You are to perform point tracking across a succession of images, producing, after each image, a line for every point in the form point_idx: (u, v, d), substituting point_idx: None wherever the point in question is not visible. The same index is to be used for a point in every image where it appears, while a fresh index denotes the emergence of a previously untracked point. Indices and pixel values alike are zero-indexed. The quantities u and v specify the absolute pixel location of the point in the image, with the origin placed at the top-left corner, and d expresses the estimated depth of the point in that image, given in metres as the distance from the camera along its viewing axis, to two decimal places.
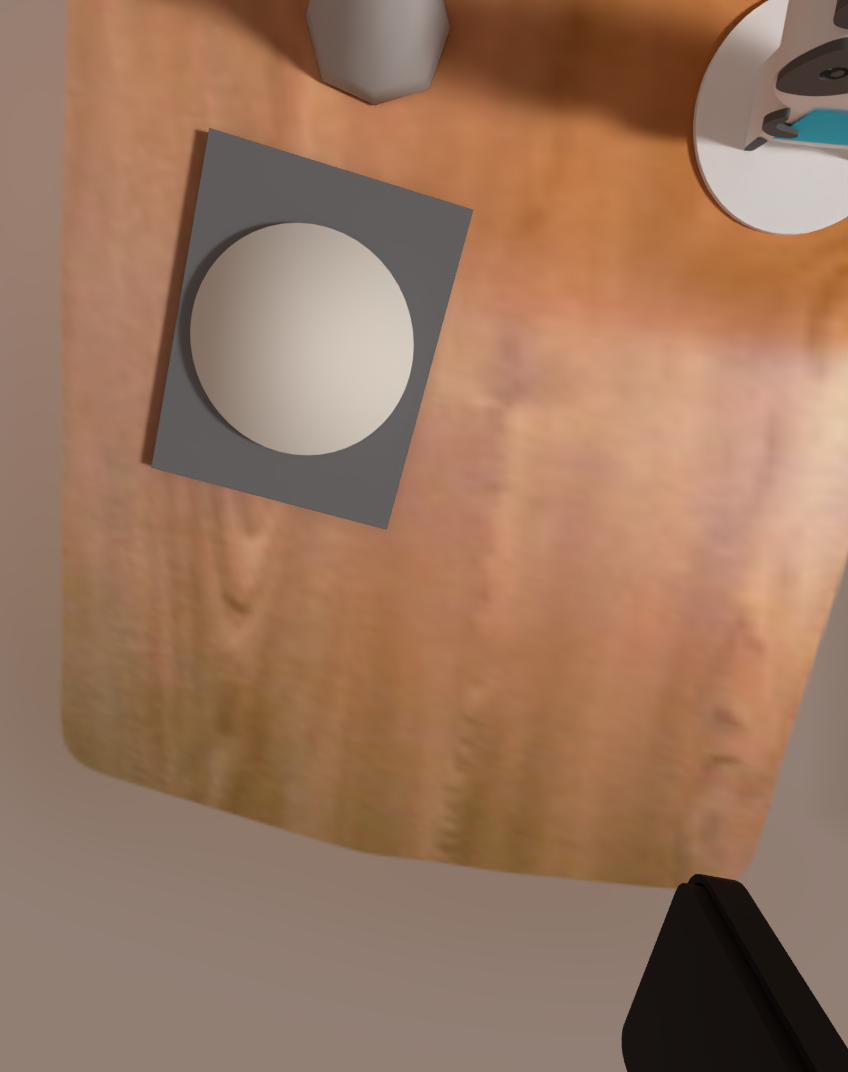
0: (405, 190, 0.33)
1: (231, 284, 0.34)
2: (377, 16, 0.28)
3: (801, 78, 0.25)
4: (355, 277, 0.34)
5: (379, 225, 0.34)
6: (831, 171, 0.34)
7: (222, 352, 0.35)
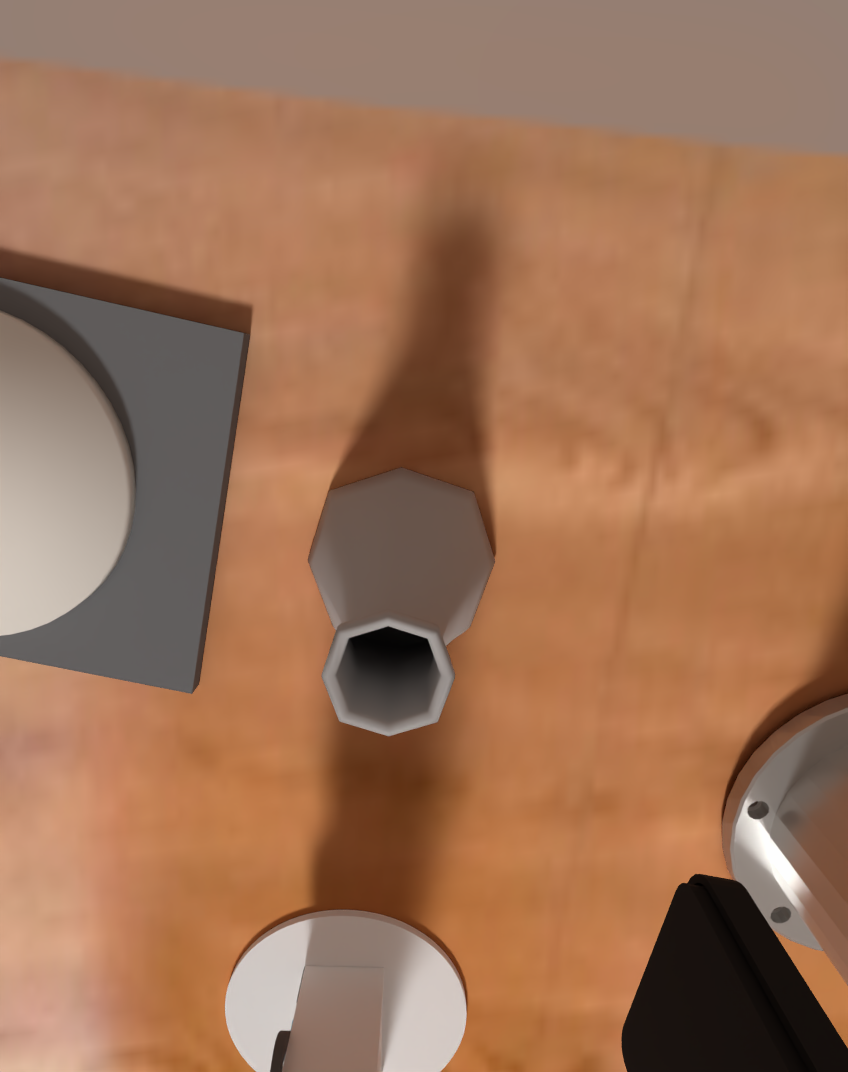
0: (202, 608, 0.25)
1: (18, 367, 0.22)
2: None
3: None
4: (65, 553, 0.23)
5: (153, 576, 0.24)
6: None
7: None
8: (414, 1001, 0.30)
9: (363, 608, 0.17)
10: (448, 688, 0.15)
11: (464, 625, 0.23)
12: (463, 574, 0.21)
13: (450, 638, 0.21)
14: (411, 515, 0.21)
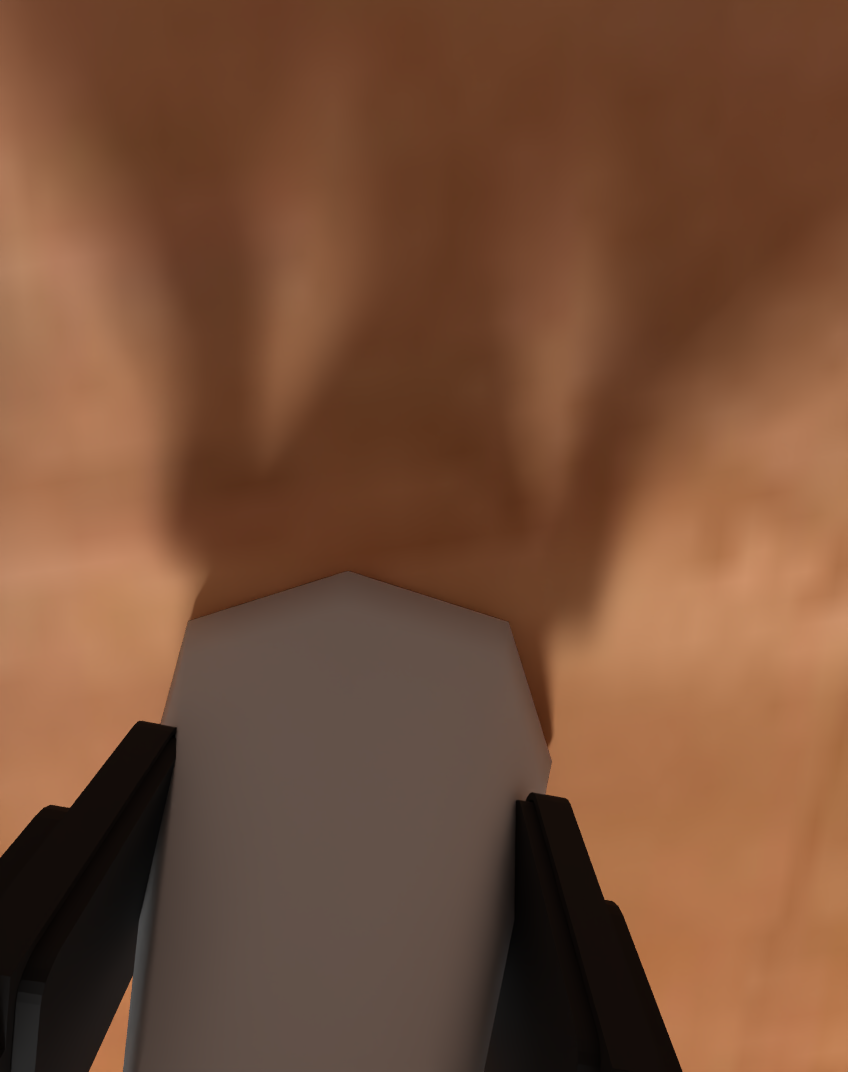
0: None
1: None
2: None
3: None
4: None
5: None
6: None
7: None
8: None
9: None
10: None
11: None
12: (498, 889, 0.08)
13: None
14: (362, 726, 0.08)
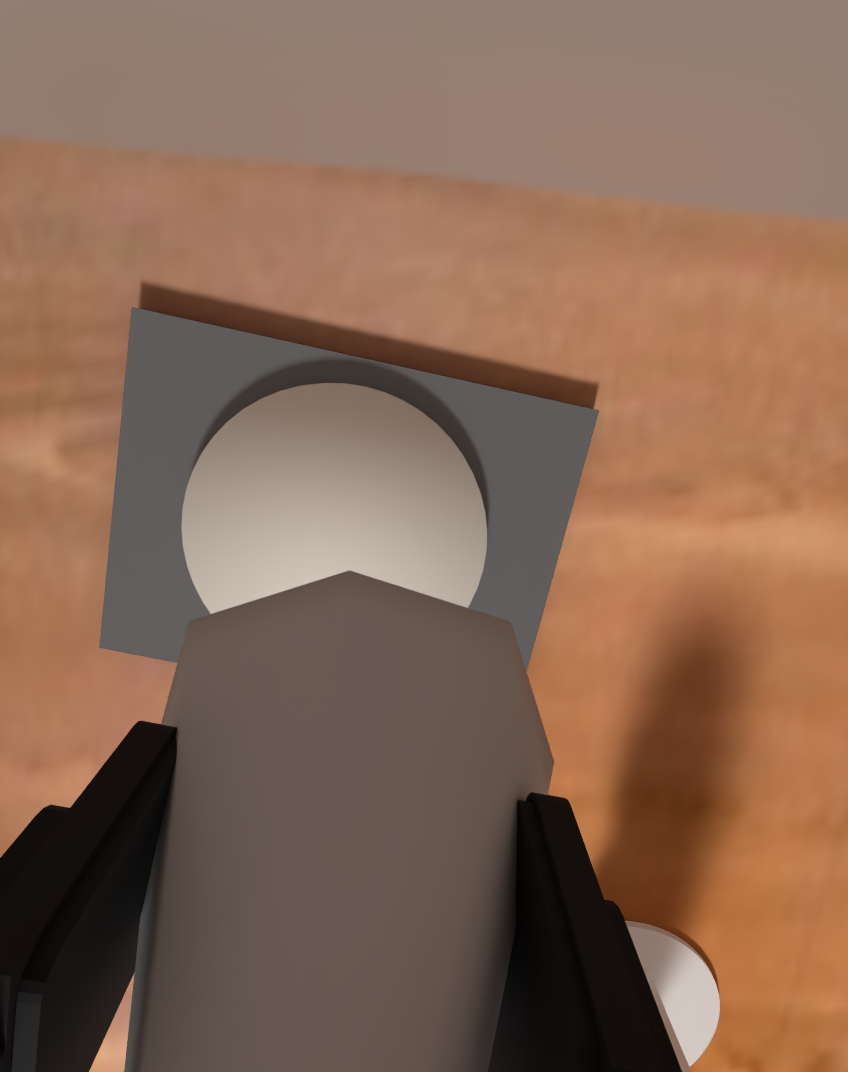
0: (530, 651, 0.27)
1: (405, 443, 0.24)
2: None
3: None
4: None
5: None
6: None
7: (312, 429, 0.24)
8: (672, 1003, 0.33)
9: None
10: None
11: None
12: (501, 891, 0.08)
13: None
14: (364, 726, 0.08)
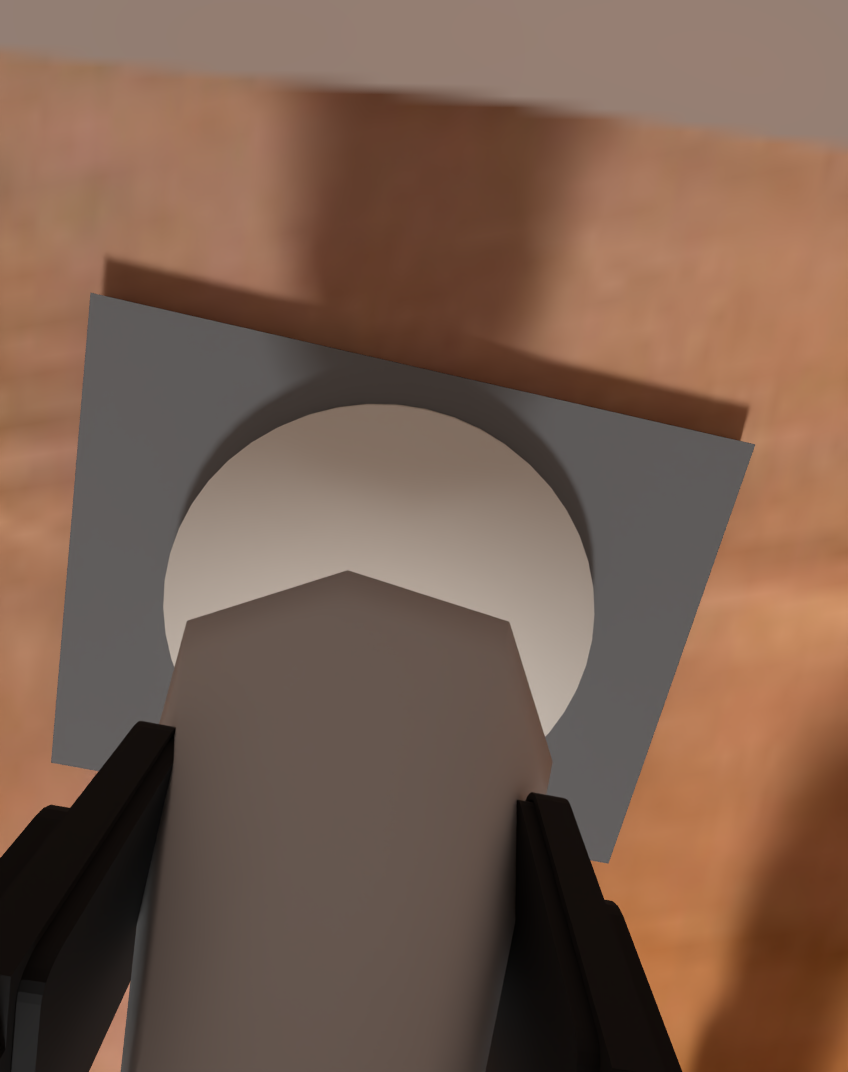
0: (639, 767, 0.20)
1: (484, 491, 0.17)
2: None
3: None
4: None
5: (586, 731, 0.20)
6: None
7: (352, 471, 0.17)
8: None
9: None
10: None
11: None
12: (498, 891, 0.08)
13: None
14: (362, 726, 0.08)
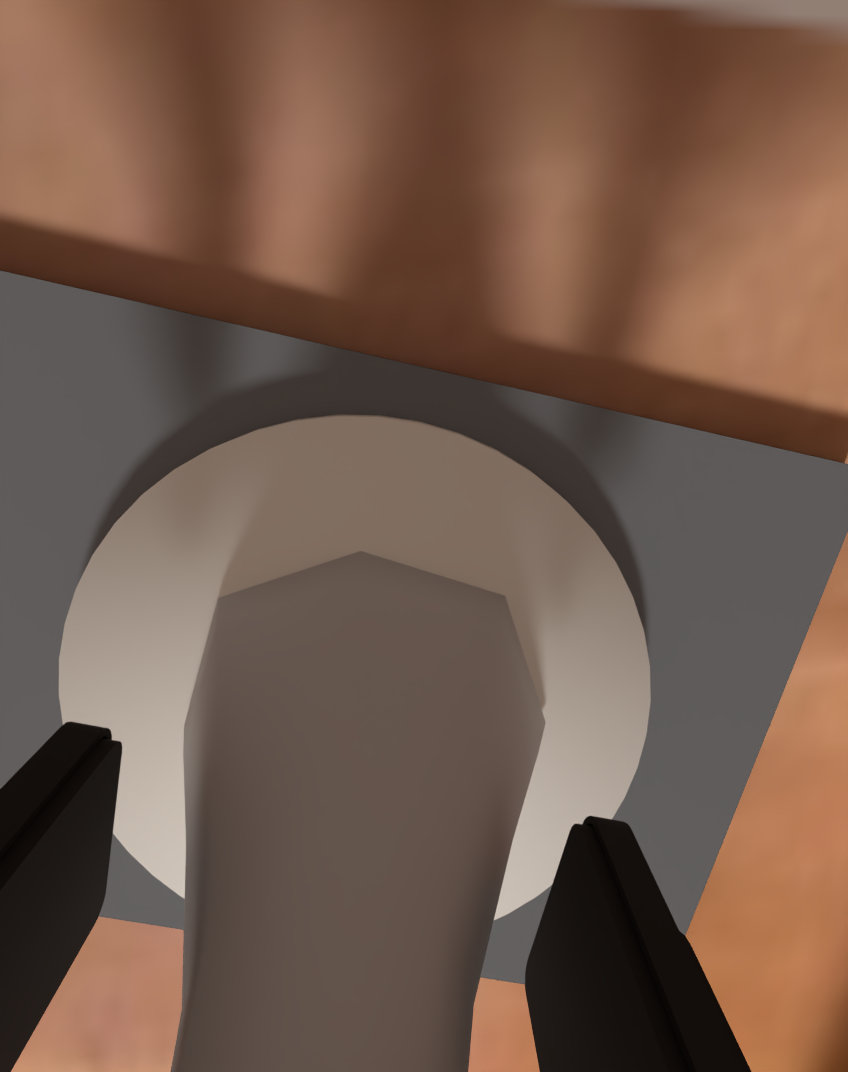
0: (701, 887, 0.15)
1: (501, 537, 0.12)
2: None
3: None
4: (524, 828, 0.14)
5: None
6: None
7: (316, 509, 0.12)
8: None
9: None
10: None
11: None
12: (496, 819, 0.09)
13: None
14: (377, 680, 0.10)
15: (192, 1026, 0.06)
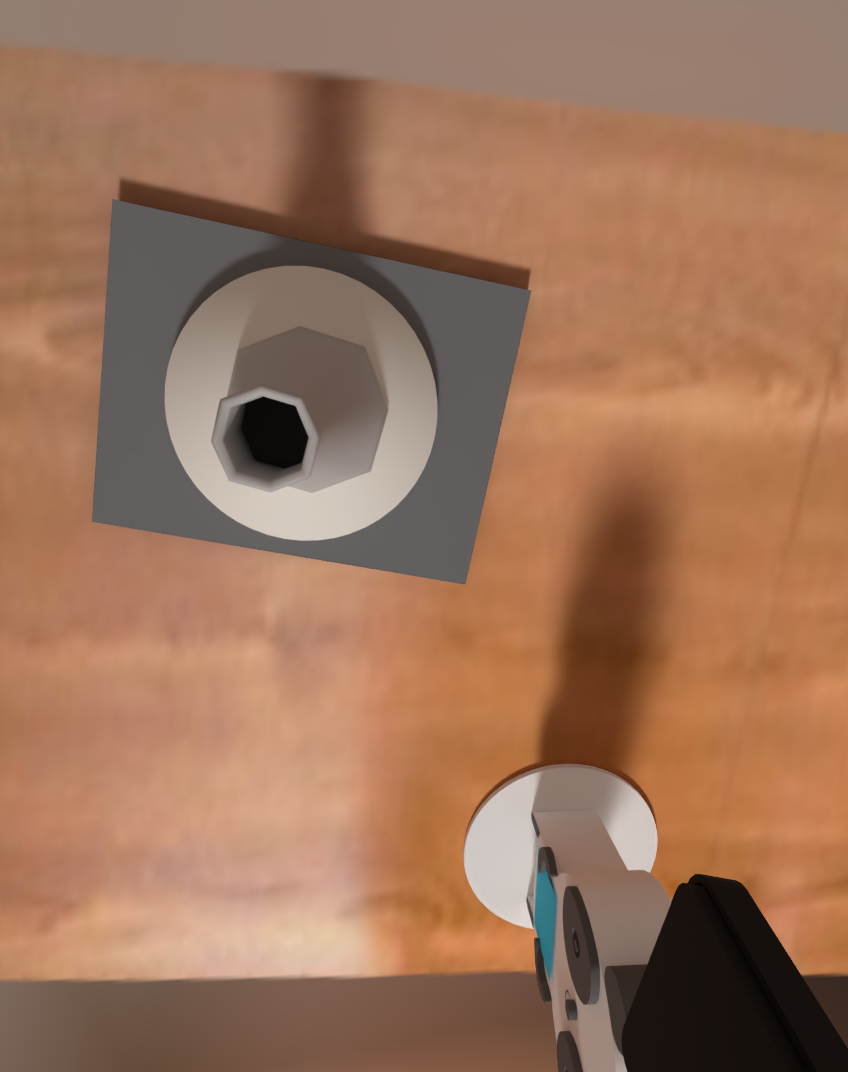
0: (479, 513, 0.31)
1: (362, 320, 0.28)
2: None
3: (573, 913, 0.27)
4: (384, 470, 0.29)
5: (443, 488, 0.31)
6: (517, 882, 0.38)
7: (280, 308, 0.27)
8: (616, 837, 0.37)
9: None
10: (315, 447, 0.19)
11: (360, 460, 0.27)
12: (349, 402, 0.25)
13: (342, 458, 0.25)
14: (303, 354, 0.25)
15: None
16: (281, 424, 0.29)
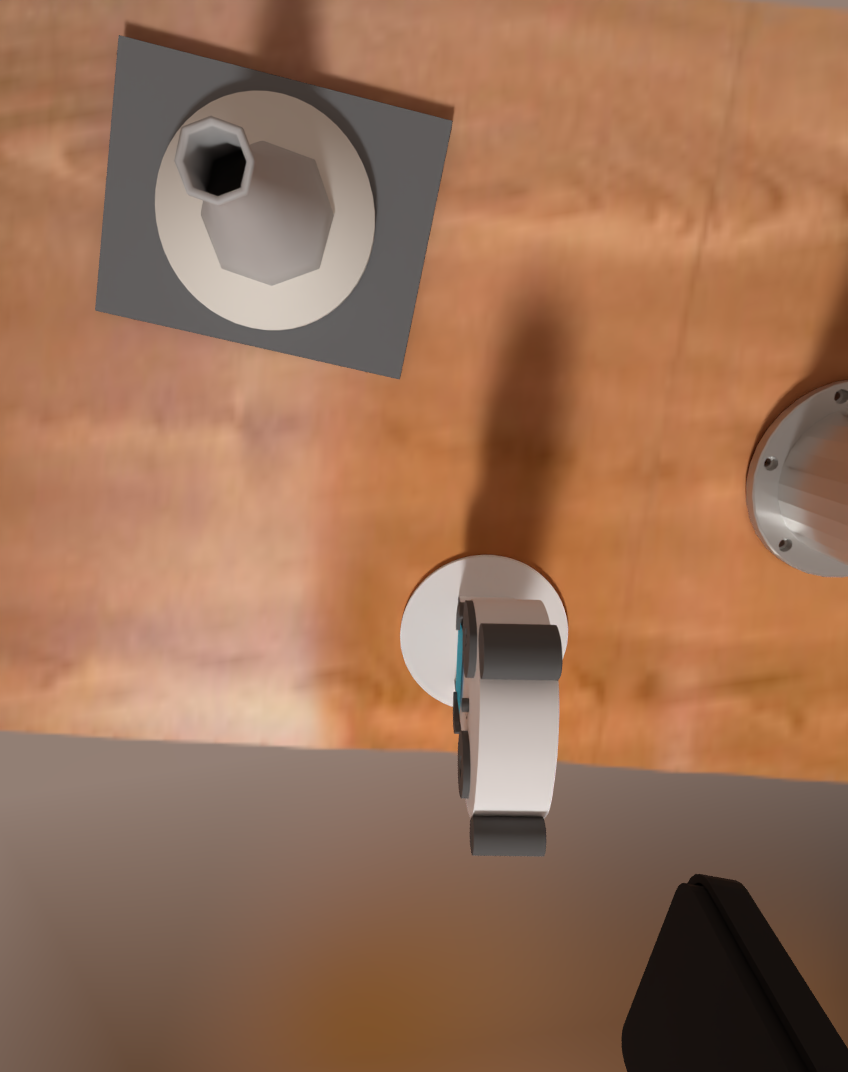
0: (411, 316, 0.38)
1: (313, 138, 0.34)
2: None
3: (465, 616, 0.33)
4: (331, 269, 0.36)
5: (380, 292, 0.37)
6: (446, 663, 0.44)
7: (247, 126, 0.34)
8: None
9: (208, 147, 0.27)
10: (250, 168, 0.26)
11: (307, 247, 0.34)
12: (294, 184, 0.31)
13: (287, 230, 0.32)
14: (260, 148, 0.32)
15: (206, 152, 0.28)
16: None
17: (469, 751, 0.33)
